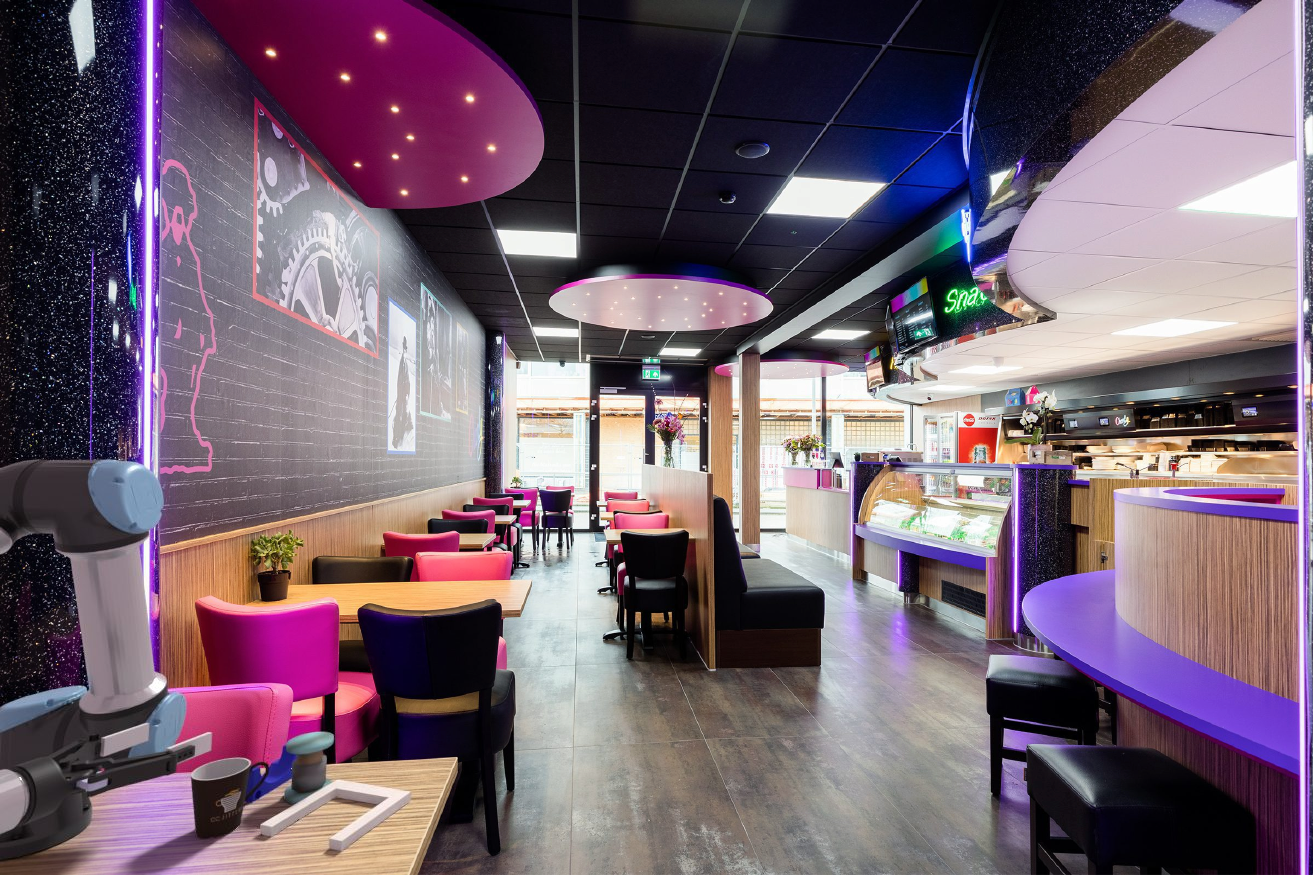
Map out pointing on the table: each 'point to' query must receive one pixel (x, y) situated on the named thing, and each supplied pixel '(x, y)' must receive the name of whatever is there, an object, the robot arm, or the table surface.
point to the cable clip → (271, 776)
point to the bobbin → (308, 765)
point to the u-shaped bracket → (381, 796)
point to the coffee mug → (221, 795)
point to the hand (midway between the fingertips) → (178, 736)
